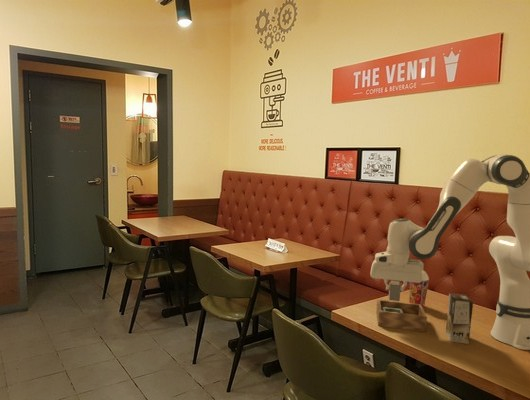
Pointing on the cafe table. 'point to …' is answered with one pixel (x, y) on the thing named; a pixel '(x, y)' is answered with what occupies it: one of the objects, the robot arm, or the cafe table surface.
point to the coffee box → (459, 318)
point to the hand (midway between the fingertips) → (394, 290)
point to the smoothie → (419, 290)
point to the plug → (394, 290)
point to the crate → (401, 315)
